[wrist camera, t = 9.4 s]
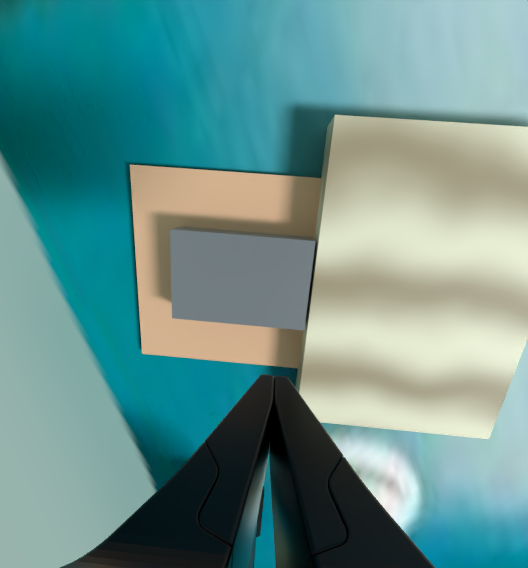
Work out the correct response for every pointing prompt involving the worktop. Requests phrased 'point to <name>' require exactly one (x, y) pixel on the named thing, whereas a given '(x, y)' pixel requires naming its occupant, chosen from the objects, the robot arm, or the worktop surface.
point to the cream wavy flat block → (417, 275)
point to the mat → (224, 216)
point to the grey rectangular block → (240, 277)
